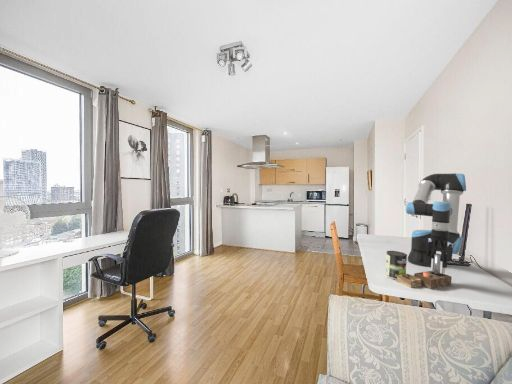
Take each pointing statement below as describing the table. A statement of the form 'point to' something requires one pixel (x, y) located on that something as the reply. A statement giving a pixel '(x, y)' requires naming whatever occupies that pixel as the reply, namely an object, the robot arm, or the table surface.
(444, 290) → the table surface
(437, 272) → the peg
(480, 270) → the table surface
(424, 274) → the button
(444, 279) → the socket block
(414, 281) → the open wooden tray
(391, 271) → the coffee can
